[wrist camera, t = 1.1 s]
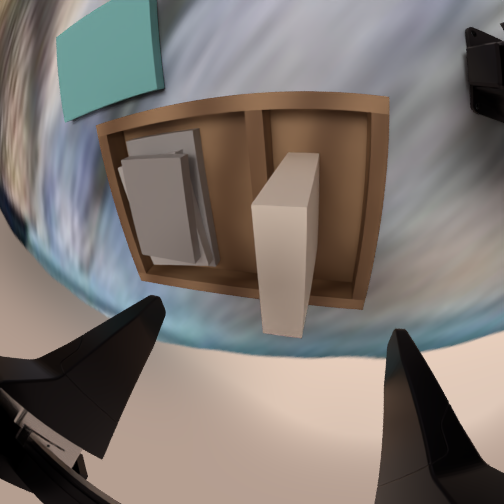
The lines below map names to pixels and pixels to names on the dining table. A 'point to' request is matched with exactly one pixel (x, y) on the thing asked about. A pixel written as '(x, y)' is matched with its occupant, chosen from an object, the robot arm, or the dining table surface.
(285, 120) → the wooden divided tray
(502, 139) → the dining table surface
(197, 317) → the dining table surface
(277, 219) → the beige rectangular block
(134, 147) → the offcut stack
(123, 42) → the mat
